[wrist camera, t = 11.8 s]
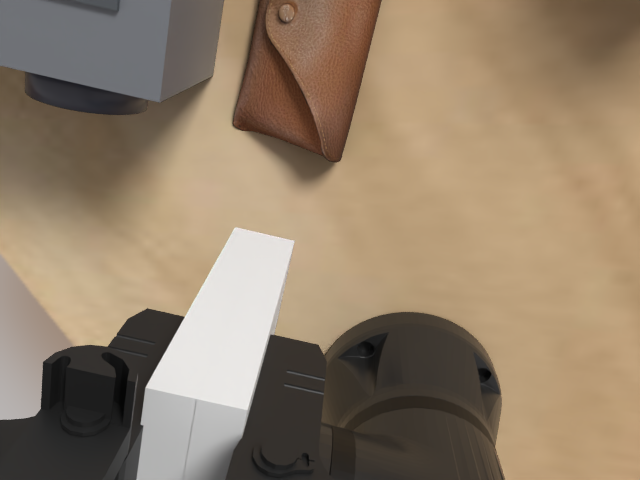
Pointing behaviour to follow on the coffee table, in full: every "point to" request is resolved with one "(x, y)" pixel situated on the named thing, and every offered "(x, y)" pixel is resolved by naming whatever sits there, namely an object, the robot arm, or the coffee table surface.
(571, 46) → the coffee table surface
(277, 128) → the sunglasses case
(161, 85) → the panel
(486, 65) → the coffee table surface
